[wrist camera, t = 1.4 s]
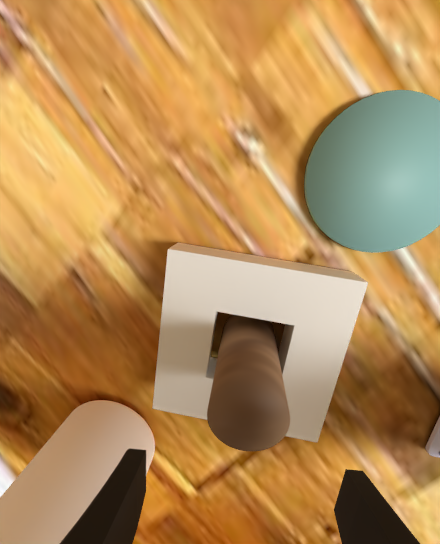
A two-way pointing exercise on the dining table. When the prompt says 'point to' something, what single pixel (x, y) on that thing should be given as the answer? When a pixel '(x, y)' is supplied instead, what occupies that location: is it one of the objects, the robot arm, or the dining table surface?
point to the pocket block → (261, 305)
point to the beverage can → (71, 472)
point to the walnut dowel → (248, 387)
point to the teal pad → (378, 172)
